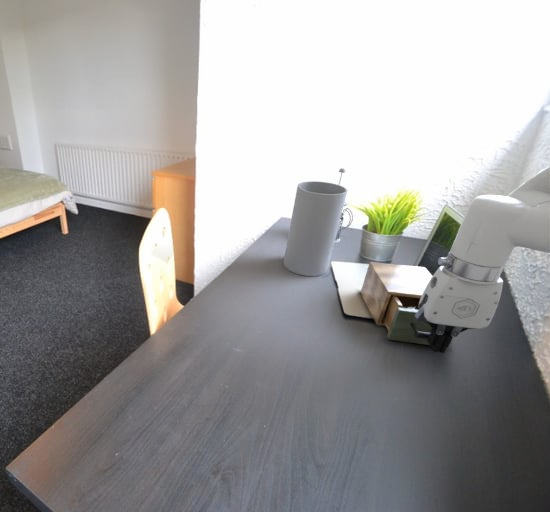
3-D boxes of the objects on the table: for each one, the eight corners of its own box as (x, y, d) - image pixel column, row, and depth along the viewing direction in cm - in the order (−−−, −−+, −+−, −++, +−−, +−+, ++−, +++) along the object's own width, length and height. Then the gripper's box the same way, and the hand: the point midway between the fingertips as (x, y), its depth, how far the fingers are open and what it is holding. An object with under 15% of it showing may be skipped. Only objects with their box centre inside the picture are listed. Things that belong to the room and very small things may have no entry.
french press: (319, 230, 137) (335, 163, 125) (351, 240, 129) (371, 169, 118) (306, 237, 131) (320, 168, 120) (338, 248, 123) (357, 175, 112)
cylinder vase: (336, 273, 109) (358, 191, 97) (303, 281, 105) (321, 197, 93) (305, 255, 119) (322, 179, 108) (274, 262, 115) (287, 184, 103)
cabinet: (437, 334, 84) (453, 298, 79) (376, 325, 86) (388, 291, 82) (412, 299, 96) (425, 267, 92) (360, 293, 99) (369, 261, 95)
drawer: (457, 361, 74) (473, 331, 71) (395, 352, 77) (407, 322, 73) (422, 311, 90) (433, 284, 86) (370, 305, 92) (379, 278, 89)
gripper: (433, 272, 63) (400, 354, 71) (538, 282, 59) (490, 367, 68) (416, 253, 69) (387, 330, 77) (509, 261, 66) (469, 341, 74)
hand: (435, 347), depth 73 cm, fingers closed
